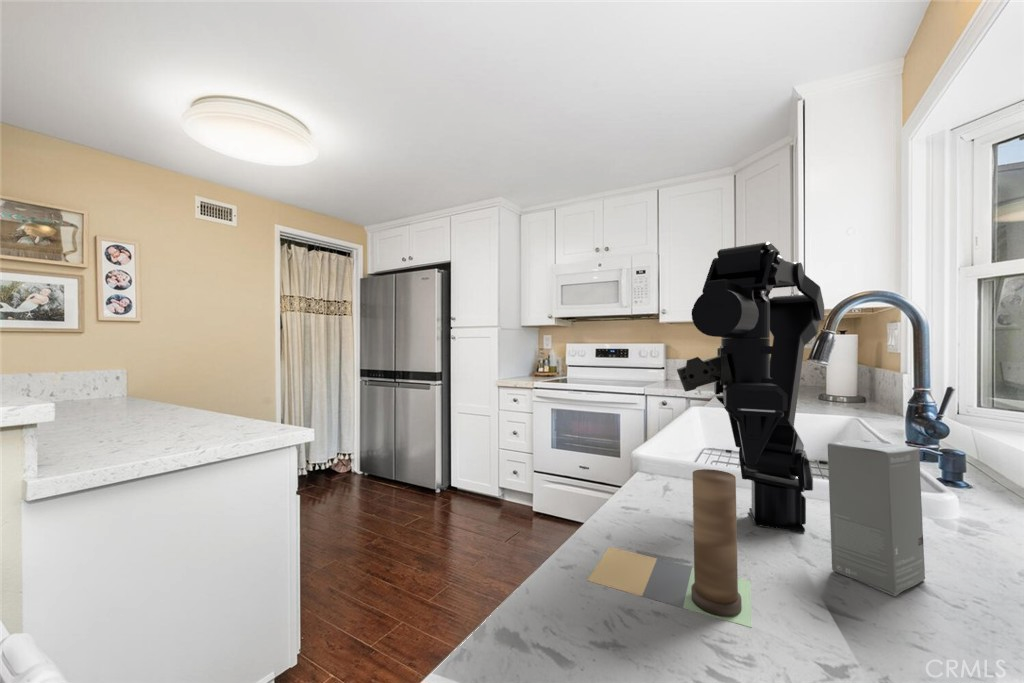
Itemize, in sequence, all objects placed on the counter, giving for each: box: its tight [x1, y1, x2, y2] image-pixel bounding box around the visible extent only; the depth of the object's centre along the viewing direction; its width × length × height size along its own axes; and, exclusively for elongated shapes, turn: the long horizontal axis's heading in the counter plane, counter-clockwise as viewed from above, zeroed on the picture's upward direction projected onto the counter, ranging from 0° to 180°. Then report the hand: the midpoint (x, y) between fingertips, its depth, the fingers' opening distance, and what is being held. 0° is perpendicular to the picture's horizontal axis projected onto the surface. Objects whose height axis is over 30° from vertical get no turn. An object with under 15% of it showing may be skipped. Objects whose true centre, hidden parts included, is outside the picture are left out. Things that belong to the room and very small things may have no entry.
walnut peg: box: [691, 468, 742, 617], centre depth 43 cm, size 5×5×13 cm
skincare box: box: [827, 439, 926, 597], centre depth 51 cm, size 8×7×16 cm
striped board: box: [586, 546, 753, 629], centre depth 47 cm, size 16×9×1 cm, turn 61°
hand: (744, 454), depth 56 cm, fingers open, 9 cm apart
